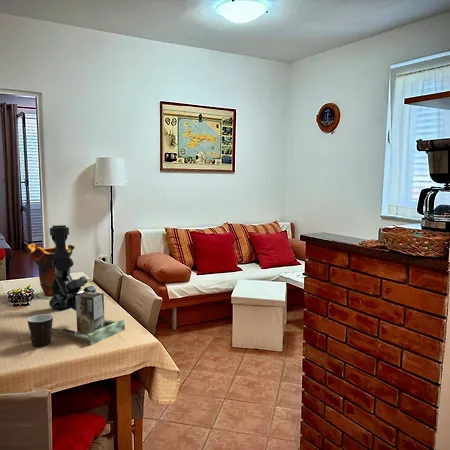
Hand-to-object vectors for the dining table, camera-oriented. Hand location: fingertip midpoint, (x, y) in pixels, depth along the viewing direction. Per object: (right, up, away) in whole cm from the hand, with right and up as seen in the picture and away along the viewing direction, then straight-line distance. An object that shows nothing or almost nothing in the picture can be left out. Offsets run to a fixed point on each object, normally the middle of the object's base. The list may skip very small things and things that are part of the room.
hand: (82, 313), depth 167 cm
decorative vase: (-34, -1, +51) cm, 61 cm away
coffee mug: (-11, -9, -14) cm, 20 cm away
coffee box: (+4, -8, -2) cm, 9 cm away
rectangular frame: (+1, -7, 0) cm, 7 cm away
